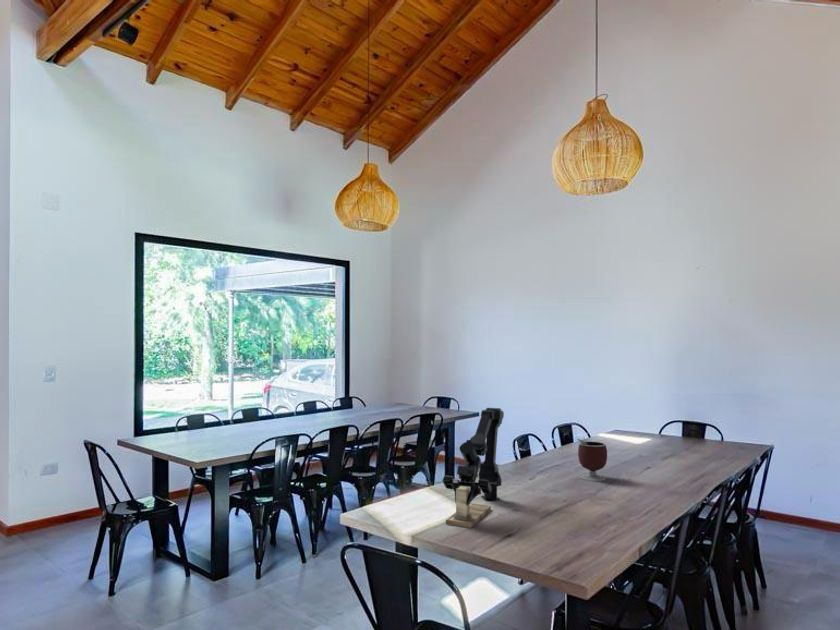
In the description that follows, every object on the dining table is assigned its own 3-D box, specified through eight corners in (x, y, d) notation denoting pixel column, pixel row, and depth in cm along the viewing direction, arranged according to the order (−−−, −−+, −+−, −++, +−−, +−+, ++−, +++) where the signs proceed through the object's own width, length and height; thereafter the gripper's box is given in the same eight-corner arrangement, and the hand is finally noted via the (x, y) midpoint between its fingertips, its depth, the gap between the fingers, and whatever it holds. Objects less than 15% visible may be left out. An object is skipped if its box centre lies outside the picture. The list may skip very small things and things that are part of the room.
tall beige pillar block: (459, 514, 219) (459, 486, 220) (471, 516, 217) (471, 487, 217) (454, 518, 215) (454, 489, 215) (466, 520, 213) (466, 490, 213)
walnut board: (467, 506, 235) (467, 502, 235) (490, 509, 231) (490, 505, 231) (445, 523, 213) (445, 519, 213) (470, 527, 209) (470, 523, 209)
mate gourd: (596, 473, 291) (595, 434, 292) (613, 480, 278) (612, 439, 278) (570, 476, 286) (569, 436, 287) (586, 482, 273) (585, 441, 274)
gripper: (444, 454, 224) (432, 489, 214) (489, 459, 216) (479, 495, 206) (451, 470, 231) (441, 505, 221) (495, 475, 223) (486, 511, 213)
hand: (461, 504), depth 215 cm, fingers closed on tall beige pillar block, 4 cm apart
